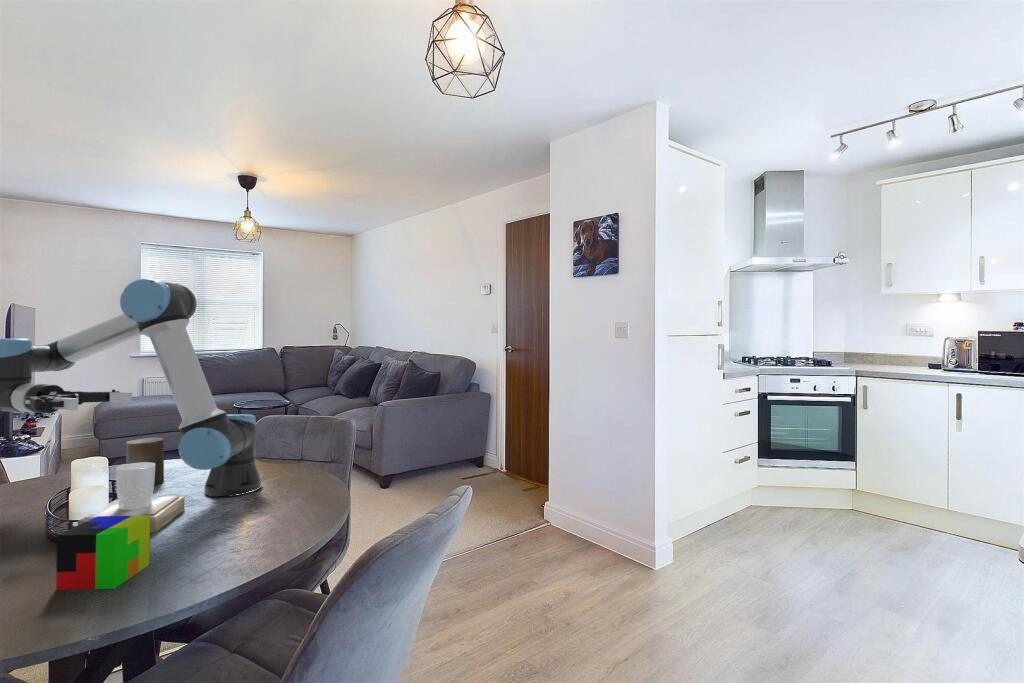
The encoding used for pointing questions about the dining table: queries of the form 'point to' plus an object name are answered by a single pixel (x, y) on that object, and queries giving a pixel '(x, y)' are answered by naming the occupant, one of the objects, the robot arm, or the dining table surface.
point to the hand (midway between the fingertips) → (105, 401)
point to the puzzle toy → (102, 552)
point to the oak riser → (147, 511)
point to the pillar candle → (147, 454)
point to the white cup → (135, 485)
